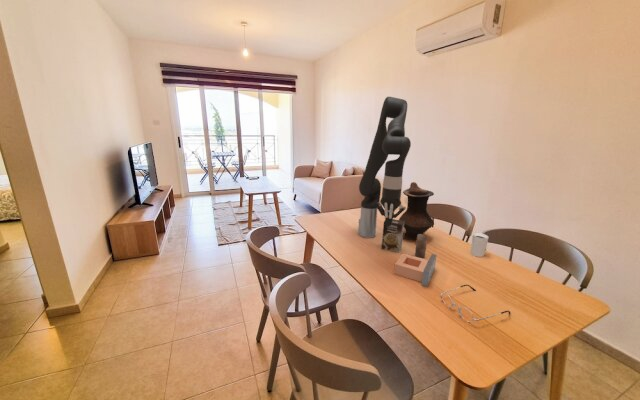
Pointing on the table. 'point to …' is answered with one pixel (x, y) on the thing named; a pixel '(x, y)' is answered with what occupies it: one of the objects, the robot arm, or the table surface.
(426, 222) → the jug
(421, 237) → the dowel
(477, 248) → the drinking glass
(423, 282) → the rail base
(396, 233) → the coffee box
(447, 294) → the eyeglasses
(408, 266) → the holder
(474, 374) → the table surface
